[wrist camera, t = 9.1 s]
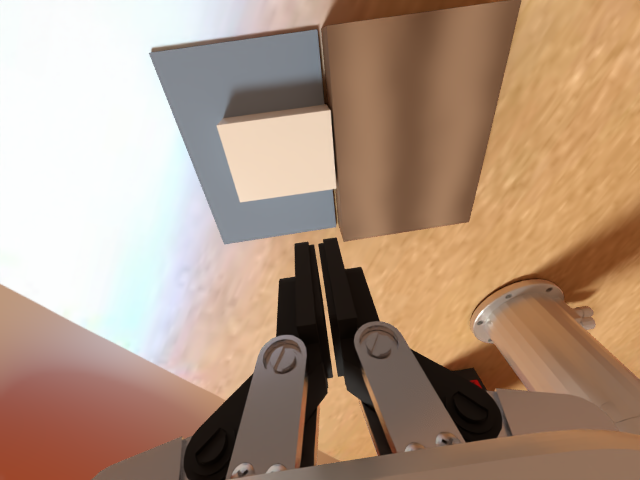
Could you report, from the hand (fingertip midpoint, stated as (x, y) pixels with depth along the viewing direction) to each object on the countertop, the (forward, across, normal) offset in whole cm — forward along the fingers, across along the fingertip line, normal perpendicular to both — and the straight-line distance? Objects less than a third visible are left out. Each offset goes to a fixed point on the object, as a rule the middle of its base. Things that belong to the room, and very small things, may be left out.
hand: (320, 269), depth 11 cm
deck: (+15, -8, -1) cm, 17 cm away
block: (+15, +2, -1) cm, 15 cm away
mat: (+15, +4, -1) cm, 15 cm away
